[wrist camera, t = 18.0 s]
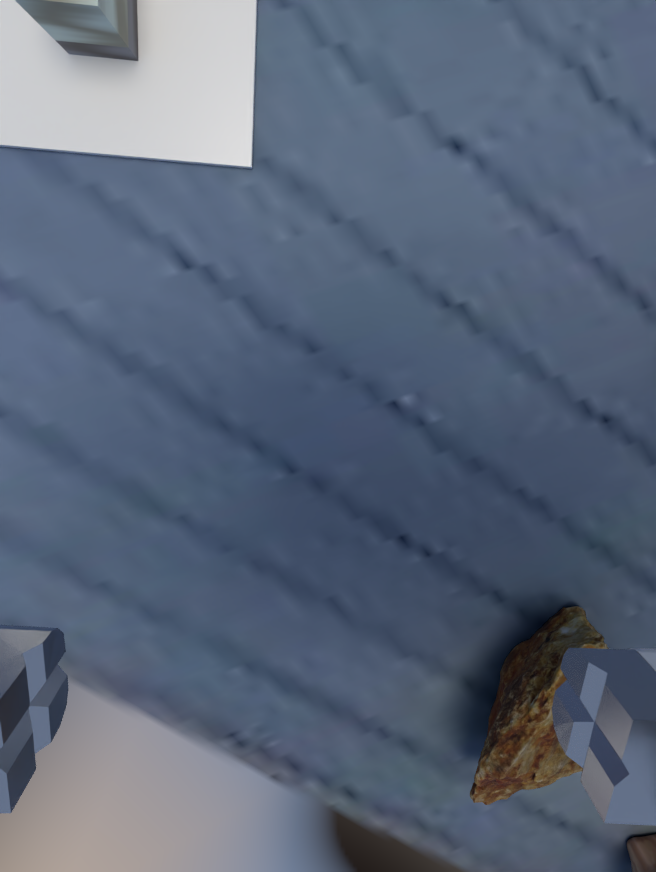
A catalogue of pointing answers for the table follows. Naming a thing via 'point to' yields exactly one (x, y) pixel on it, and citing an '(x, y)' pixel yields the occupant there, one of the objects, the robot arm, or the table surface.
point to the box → (89, 26)
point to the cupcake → (642, 853)
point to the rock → (530, 711)
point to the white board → (136, 87)
